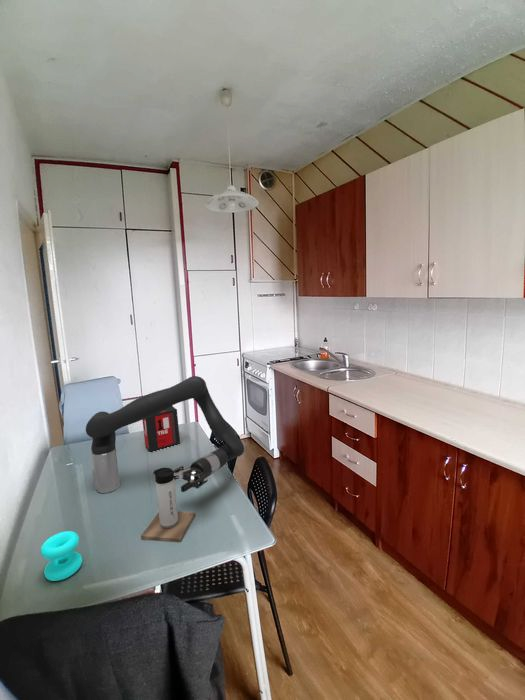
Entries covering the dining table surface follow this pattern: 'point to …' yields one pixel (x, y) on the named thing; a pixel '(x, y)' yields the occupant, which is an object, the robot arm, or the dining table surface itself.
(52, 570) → the cyan spool
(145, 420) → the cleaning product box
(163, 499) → the travel mug
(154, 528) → the walnut board
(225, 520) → the dining table surface
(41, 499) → the dining table surface
